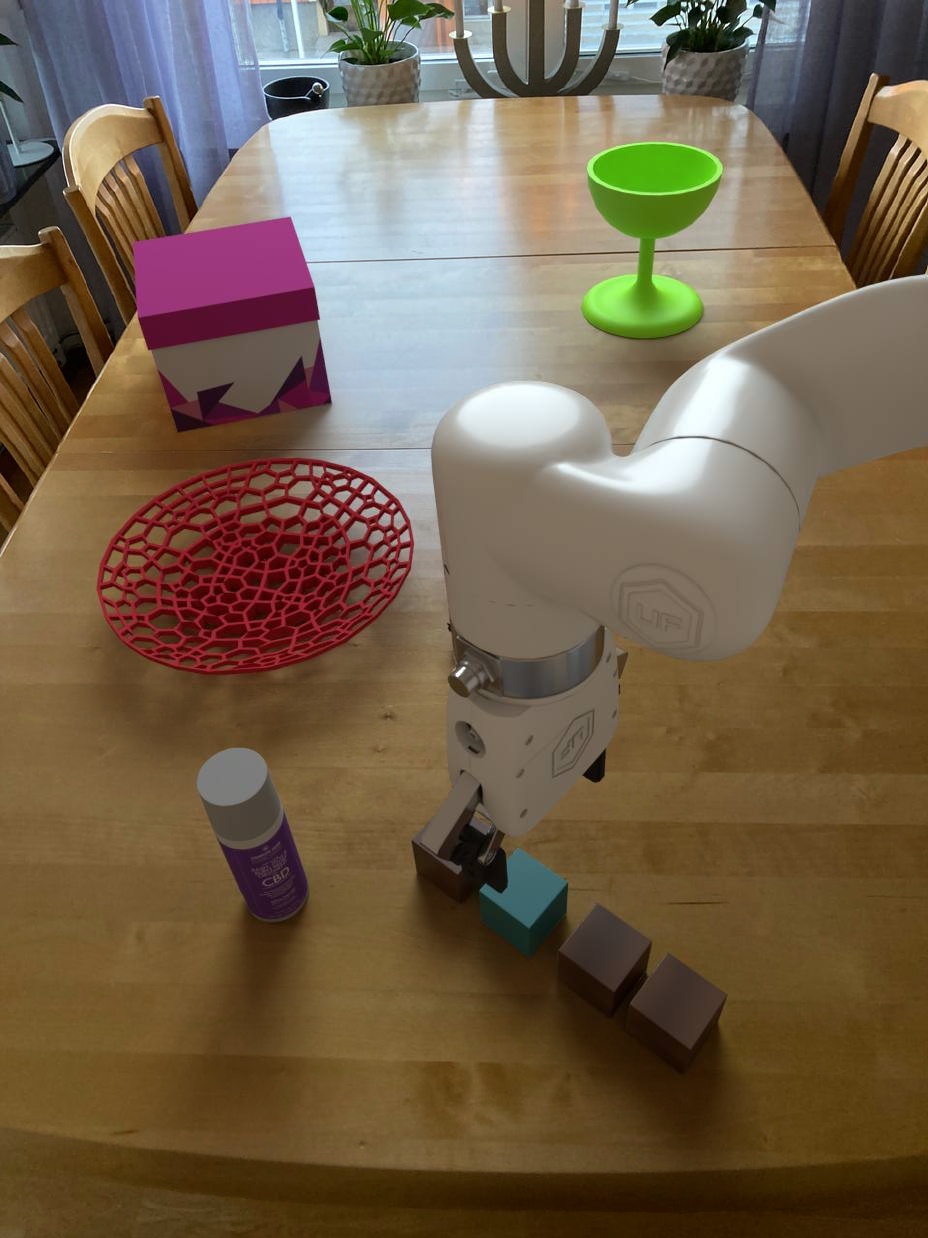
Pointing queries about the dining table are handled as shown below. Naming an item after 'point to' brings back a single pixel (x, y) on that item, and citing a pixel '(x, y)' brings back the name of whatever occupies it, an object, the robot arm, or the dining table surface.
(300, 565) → the bowl
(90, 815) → the dining table surface
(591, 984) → the walnut block
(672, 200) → the wineglass
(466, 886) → the walnut block
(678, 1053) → the walnut block
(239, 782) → the container
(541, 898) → the teal block
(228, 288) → the decorative box
